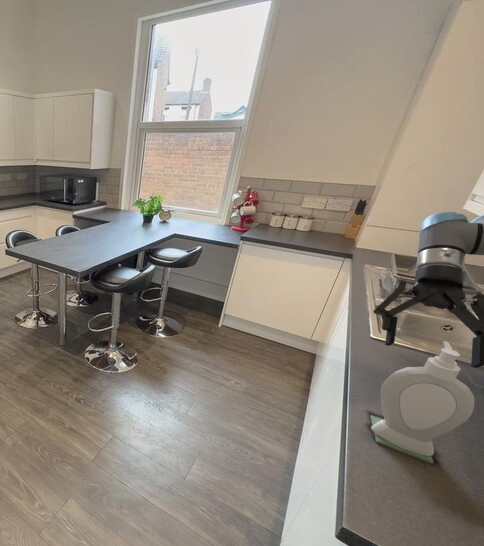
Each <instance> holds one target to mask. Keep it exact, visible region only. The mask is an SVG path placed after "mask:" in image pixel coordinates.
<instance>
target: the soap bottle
mask: <svg viewBox="0 0 484 546" xmlns="http://www.w3.org/2000/svg"><path fill="white" fill-rule="evenodd" d="M442 344H443V348H441V349H440V350H441V352H440V354H439V355H435V356H430V357H428V358H427V359H426V361H425V363H424V365H423V366H406V367H403V368H401V369H399V370H396V371H394V372H393V373H392V374H391V375H389V376H388V377H387V378H386V379H385V380H384V381H383V383H382V384H381V387H380V392H379V393H380V394H379V395H380V406H381V410H382V414H383V418H384V419H383V420H381V421H379V422H377V423H376V424H374V425H373V426H372V425H371V427H370V429H371V431H372V432H373V433H374V432H375V433H376V434H377V435H378V436H380V437H381V438H383V439H385V440H387V441H388V442H390V443H392V444H394V445H396V446H398V447H400V448H402V449H405V450H408V451H411V452H414V453H418V454H421V455H425V456H431V457H432V456H433V455H434V454H435V447H434V442H433V440H434V439H436V438H439V437H440V436H443V435H445V434H446V433H449V432H450V431H452V430H454V429H456V428H457V427H459V426H461V425H463V424H464V423H465V422H467V421H468V420H469V419H470V417H471V416H472V414H473V412H474V409H475V395H474V394H473V392H472V390H470V388H469V387H468V385H466V384H465V383H464V382H462V381H461V380H459V379H458V378H457V377H458V375H459V373H460V371H461V368H460V366H459V365H458V363H457V362H456V360H457V358H458V357H460V356H461V354H460V353H459V352H457V351H456V350H453V348H452V345H451V344H450V343H449V342H448V341H445V340H443V341H442Z"/></svg>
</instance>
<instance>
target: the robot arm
mask: <svg viewBox="0 0 484 546" xmlns="http://www.w3.org/2000/svg"><path fill="white" fill-rule="evenodd" d="M418 237H419V238H418V248H417V249H418V250H417V258H416V266H415V275H414V282H413V283H414V284H410V283H407V281H406V280H399V282H398V283H397V284H395V286H394V289H393V291H392V292H391V293H390V294H389V295H388V296H387V297H386V298H385V299H384V300H383V301H382V302H381V303H380V304H379V305H377V307H376V308H375V309H374V310H373V311H372V312H373V313H374V314H375V315H378V316H381V319H382V322H381V330H383V331H386V335H385V342H384V346H387V347H391V346H392V345H394V344H395V341H396V332H397V326H398V316H396V315H398V314H400V313H402V312H404V311H406V310H407V309H410V308H411V307H413V306H416V305H418V304H420V303H421V305H424V307H428V308H429V307H431V308H436V309H439V310H445V309H446V310H447V311H448V312H449V313H450V314H453V315H454V316H455V317H457V319H459V321H460V322H462V324H463V325H465V326H466V327H467V328H468V329H469V330H470V332H471V333H473V334H474V335H475V337H472V342H471V359H470V360H471V361H470V363H471V364H470V367H471V368H474V369H477V368H480V367H483V366H484V294H483V293H477V294H468V293H465V292H464V281H465V280H464V279H465V272H464V271H465V264H466V255H471V256H472V255H473V256H474V255H475V256H484V214H483V215H479V216H478V217H476V218H474V219H472V220H471V221H470V222H469V219H468V217H467V216H466V215H465V214H463V213H457V212H455V211H442V212H437V213H434V214H431V215H429V216H427V217H426V218H424V220H422V222H421V227H420V232H419V235H418ZM408 291H410V292H411V293H412V294H413V295H414V297H412V298H410V299H408V300H406V301H404V302H402V303H401V304H399V305H397V306H395V307H393V308H391V309H389V310H388V309H386V308H387V307H388V306H390V305H391V304H392V302H394V301H395V300H396V299H397V298H398V297H399V296H400V295H401V294H402V293H406V292H408ZM463 301H465V302H466V304H467V305H470V308H471V310H472V312H473V313H472V312H471V310H469V309H468V308H467V305H466V304H465V303H464V302H463Z"/></svg>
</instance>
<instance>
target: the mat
mask: <svg viewBox="0 0 484 546" xmlns="http://www.w3.org/2000/svg"><path fill="white" fill-rule="evenodd" d="M369 417H370V422H371V427H372V426H373V425H374V424H376V423H377V422H379V421H381V420H384V419H383V418H381V417H377V416H374V415H370V416H369ZM373 434H374V439H375V443H377V444H378V445H382V446H385V447H387V448H390V449H392V450H394V451H398V452H400V453H403V454H405V455H408V456H410V457H413V458H416V459H419V460H421V461H423V462H426V463H428V464H431V465H433V464H434V463H435V461H434V459H433V457H432V456H425V455H421V454H418V453H414V452H411V451H408V450H405V449H402V448H400V447H398V446H396V445H394V444H392V443H390V442H388V441H387V440H385V439H383V438H381V437H380V436H378V435H377V434H376V433H375V432H373Z"/></svg>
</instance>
